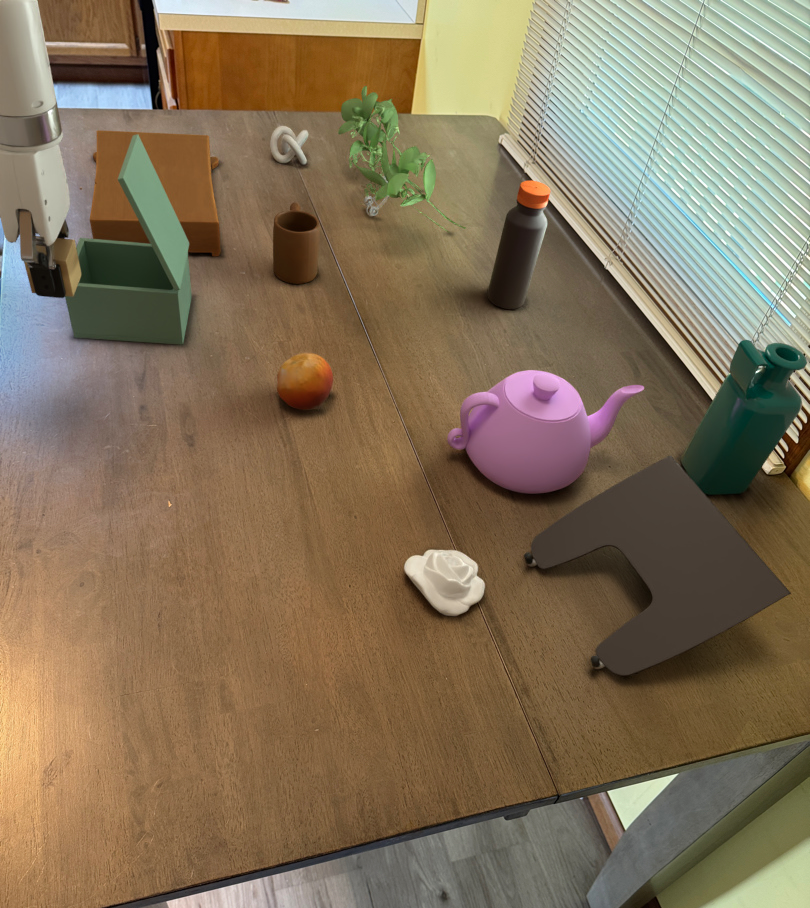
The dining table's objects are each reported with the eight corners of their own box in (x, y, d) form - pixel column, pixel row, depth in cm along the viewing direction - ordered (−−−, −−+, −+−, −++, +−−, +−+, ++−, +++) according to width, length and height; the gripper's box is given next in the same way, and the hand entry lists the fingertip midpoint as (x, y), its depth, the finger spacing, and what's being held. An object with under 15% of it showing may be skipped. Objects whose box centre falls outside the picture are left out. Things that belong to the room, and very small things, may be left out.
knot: (268, 166, 156) (268, 136, 151) (272, 148, 161) (272, 119, 156) (305, 171, 157) (306, 141, 152) (308, 153, 162) (309, 124, 157)
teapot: (454, 503, 102) (475, 425, 92) (433, 414, 113) (450, 336, 103) (628, 502, 107) (667, 428, 97) (592, 416, 118) (623, 342, 108)
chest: (74, 337, 113) (61, 284, 107) (90, 289, 121) (79, 237, 115) (183, 345, 116) (177, 293, 109) (191, 297, 124) (187, 246, 117)
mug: (271, 246, 137) (272, 194, 130) (314, 248, 138) (317, 197, 131) (273, 284, 129) (273, 231, 122) (318, 286, 131) (321, 234, 123)
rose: (398, 582, 87) (416, 521, 93) (393, 604, 90) (411, 544, 97) (483, 605, 87) (496, 542, 93) (475, 627, 90) (488, 564, 96)
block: (31, 293, 89) (22, 256, 85) (41, 271, 92) (32, 235, 88) (73, 296, 90) (66, 261, 86) (81, 274, 92) (74, 239, 89)
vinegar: (497, 312, 133) (527, 199, 118) (480, 290, 137) (506, 178, 121) (531, 307, 135) (564, 196, 120) (512, 286, 139) (542, 176, 124)
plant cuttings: (382, 201, 167) (303, 137, 151) (436, 136, 159) (360, 62, 144) (435, 293, 146) (350, 230, 131) (500, 224, 139) (419, 148, 124)
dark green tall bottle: (725, 454, 117) (801, 331, 100) (750, 495, 111) (835, 373, 95) (666, 455, 115) (734, 330, 98) (689, 497, 109) (765, 373, 93)
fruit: (337, 417, 108) (311, 371, 103) (290, 428, 111) (262, 384, 106) (350, 382, 113) (325, 337, 108) (304, 394, 116) (278, 350, 111)
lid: (117, 179, 96) (123, 177, 96) (132, 135, 104) (138, 133, 104) (174, 291, 109) (180, 290, 109) (184, 244, 117) (189, 243, 117)
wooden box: (78, 219, 123) (88, 121, 144) (86, 256, 128) (94, 156, 149) (228, 222, 128) (216, 127, 149) (230, 257, 133) (218, 161, 154)
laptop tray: (521, 566, 104) (509, 534, 97) (670, 483, 104) (670, 444, 96) (614, 712, 92) (609, 688, 84) (784, 618, 91) (794, 585, 84)
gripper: (2, 81, 81) (40, 241, 95) (-48, 154, 71) (3, 322, 85) (77, 90, 83) (103, 247, 96) (39, 164, 72) (74, 328, 86)
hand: (56, 281), depth 90 cm, fingers closed on block, 4 cm apart
